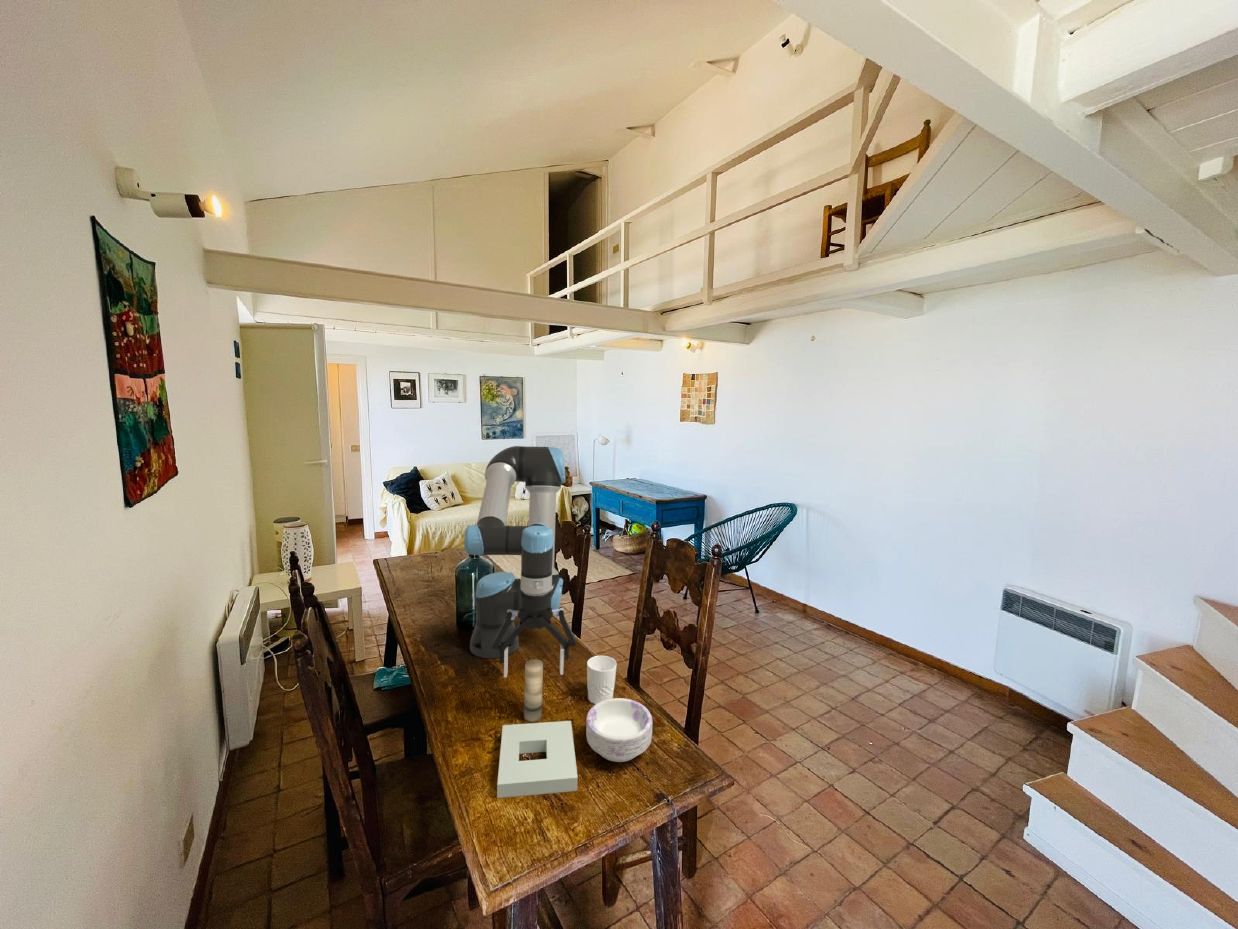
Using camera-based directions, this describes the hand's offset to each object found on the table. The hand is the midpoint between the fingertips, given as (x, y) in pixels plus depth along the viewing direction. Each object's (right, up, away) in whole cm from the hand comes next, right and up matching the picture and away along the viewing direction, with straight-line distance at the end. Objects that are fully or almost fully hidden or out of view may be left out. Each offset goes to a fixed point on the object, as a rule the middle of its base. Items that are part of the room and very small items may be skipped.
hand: (533, 673), depth 122 cm
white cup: (+16, -11, +11) cm, 23 cm away
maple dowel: (-1, -12, +2) cm, 12 cm away
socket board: (+3, -14, -13) cm, 20 cm away
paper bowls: (+21, -14, -8) cm, 26 cm away
